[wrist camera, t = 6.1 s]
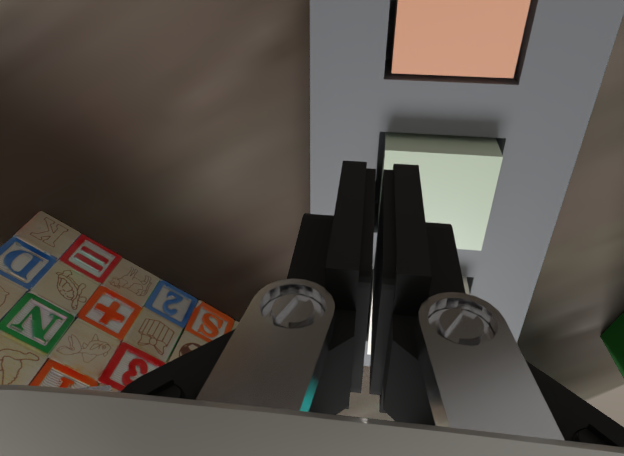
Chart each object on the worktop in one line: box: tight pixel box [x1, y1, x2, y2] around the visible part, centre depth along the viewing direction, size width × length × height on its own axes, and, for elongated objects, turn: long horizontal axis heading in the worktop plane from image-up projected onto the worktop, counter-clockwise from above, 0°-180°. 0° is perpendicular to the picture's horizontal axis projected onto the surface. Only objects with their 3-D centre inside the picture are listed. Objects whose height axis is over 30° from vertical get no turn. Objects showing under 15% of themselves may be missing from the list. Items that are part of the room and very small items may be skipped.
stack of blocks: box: [0, 211, 239, 392], centre depth 33 cm, size 21×6×12 cm, turn 57°
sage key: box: [378, 132, 503, 251], centre depth 25 cm, size 5×5×3 cm
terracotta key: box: [391, 0, 531, 78], centre depth 21 cm, size 5×5×3 cm
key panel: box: [310, 0, 624, 366], centre depth 26 cm, size 26×12×4 cm, turn 0°
